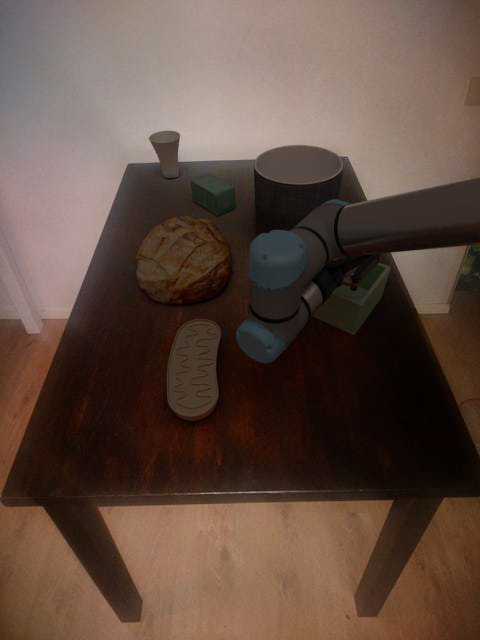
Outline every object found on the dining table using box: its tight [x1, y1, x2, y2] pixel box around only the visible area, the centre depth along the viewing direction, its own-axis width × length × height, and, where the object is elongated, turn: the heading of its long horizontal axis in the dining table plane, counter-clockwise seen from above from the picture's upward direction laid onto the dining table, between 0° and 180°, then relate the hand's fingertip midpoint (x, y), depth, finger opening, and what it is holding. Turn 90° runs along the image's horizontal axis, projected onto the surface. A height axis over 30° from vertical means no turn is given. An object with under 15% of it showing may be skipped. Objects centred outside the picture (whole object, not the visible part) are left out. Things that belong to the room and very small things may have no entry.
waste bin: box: [312, 262, 392, 336], centre depth 86 cm, size 15×15×9 cm
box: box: [190, 172, 236, 217], centre depth 119 cm, size 7×14×8 cm, turn 41°
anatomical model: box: [166, 318, 222, 422], centre depth 74 cm, size 23×10×5 cm, turn 0°
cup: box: [148, 130, 181, 174], centre depth 133 cm, size 10×10×14 cm
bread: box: [134, 214, 235, 305], centre depth 94 cm, size 25×27×15 cm
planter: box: [253, 144, 345, 237], centre depth 102 cm, size 22×22×20 cm
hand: (362, 228), depth 78 cm, fingers closed on beverage can, 6 cm apart
